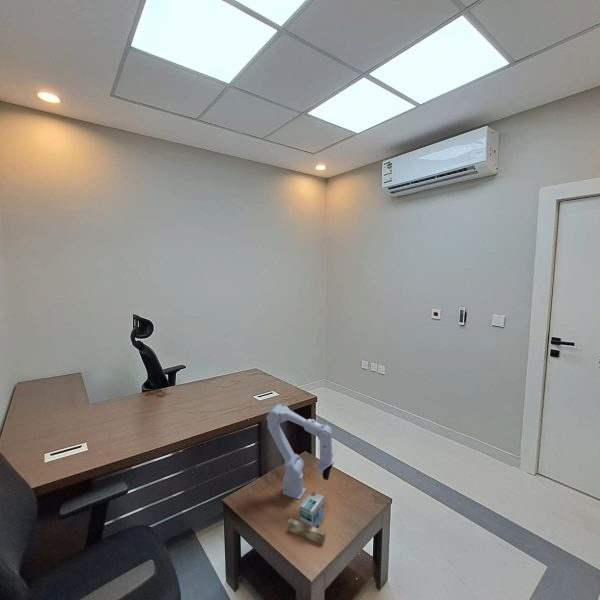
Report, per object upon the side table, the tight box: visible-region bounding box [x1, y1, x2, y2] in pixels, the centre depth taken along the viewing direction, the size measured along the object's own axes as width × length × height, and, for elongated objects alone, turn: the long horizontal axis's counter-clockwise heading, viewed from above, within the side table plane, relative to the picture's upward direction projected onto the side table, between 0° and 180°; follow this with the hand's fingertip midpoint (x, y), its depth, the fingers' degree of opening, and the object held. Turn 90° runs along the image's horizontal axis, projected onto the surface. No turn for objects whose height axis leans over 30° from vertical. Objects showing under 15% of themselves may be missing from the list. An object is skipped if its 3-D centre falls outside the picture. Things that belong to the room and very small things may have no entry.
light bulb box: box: [299, 490, 325, 529], centre depth 136 cm, size 11×7×11 cm, turn 148°
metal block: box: [287, 517, 326, 545], centre depth 131 cm, size 16×2×4 cm, turn 64°
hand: (326, 478), depth 150 cm, fingers closed
